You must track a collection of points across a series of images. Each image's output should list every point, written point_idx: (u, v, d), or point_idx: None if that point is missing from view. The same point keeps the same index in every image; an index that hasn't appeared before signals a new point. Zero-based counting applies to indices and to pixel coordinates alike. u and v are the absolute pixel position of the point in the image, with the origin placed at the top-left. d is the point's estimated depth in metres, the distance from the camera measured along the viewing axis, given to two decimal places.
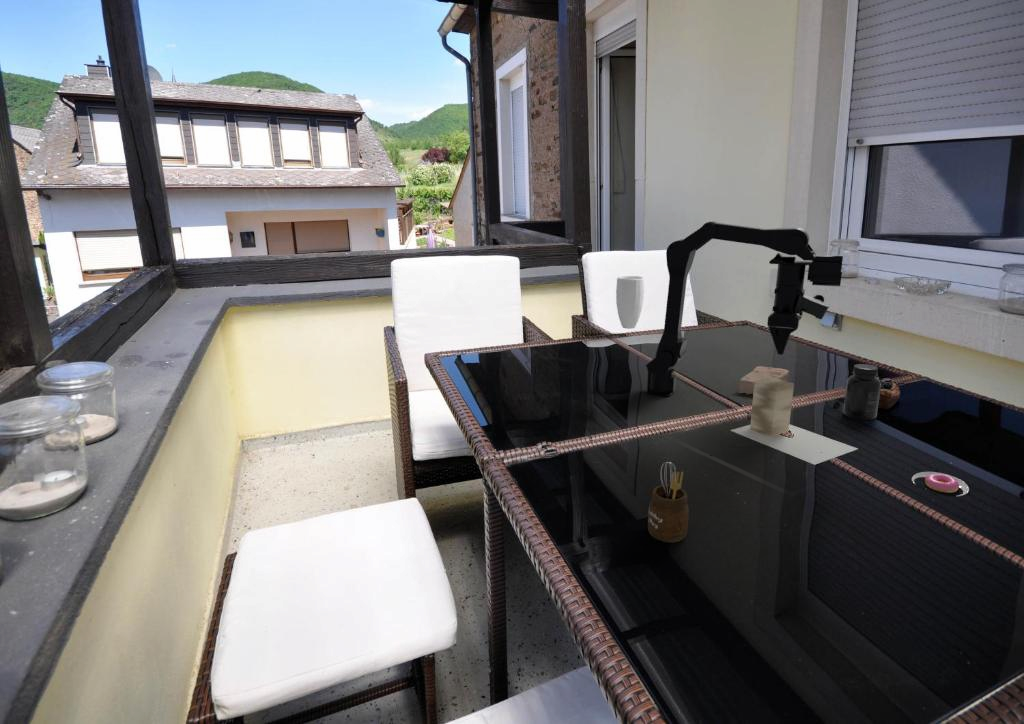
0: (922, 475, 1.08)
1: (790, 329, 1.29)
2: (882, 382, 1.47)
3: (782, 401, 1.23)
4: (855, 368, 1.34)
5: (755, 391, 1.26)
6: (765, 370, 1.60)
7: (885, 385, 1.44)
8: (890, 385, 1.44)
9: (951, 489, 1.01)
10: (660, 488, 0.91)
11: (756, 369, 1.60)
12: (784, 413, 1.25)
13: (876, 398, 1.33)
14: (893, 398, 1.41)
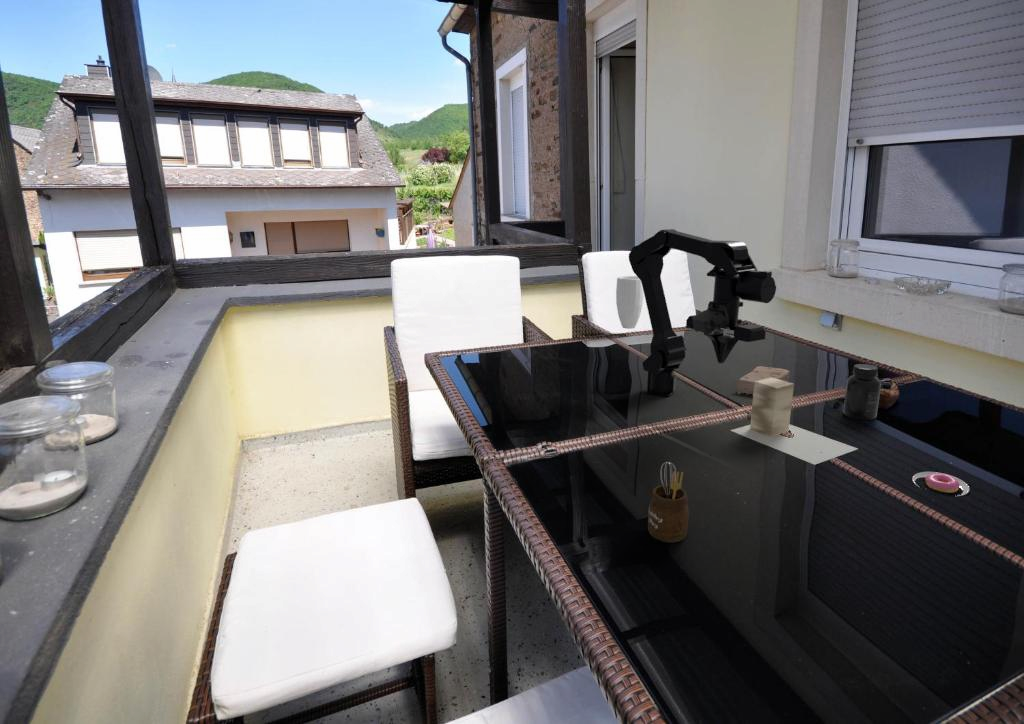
0: (923, 475, 1.08)
1: None
2: (881, 382, 1.47)
3: (782, 401, 1.23)
4: (855, 368, 1.34)
5: (755, 391, 1.26)
6: (765, 370, 1.60)
7: (884, 385, 1.45)
8: (889, 385, 1.44)
9: (951, 489, 1.01)
10: (660, 488, 0.91)
11: (756, 369, 1.60)
12: (784, 413, 1.25)
13: (876, 398, 1.33)
14: (892, 398, 1.42)
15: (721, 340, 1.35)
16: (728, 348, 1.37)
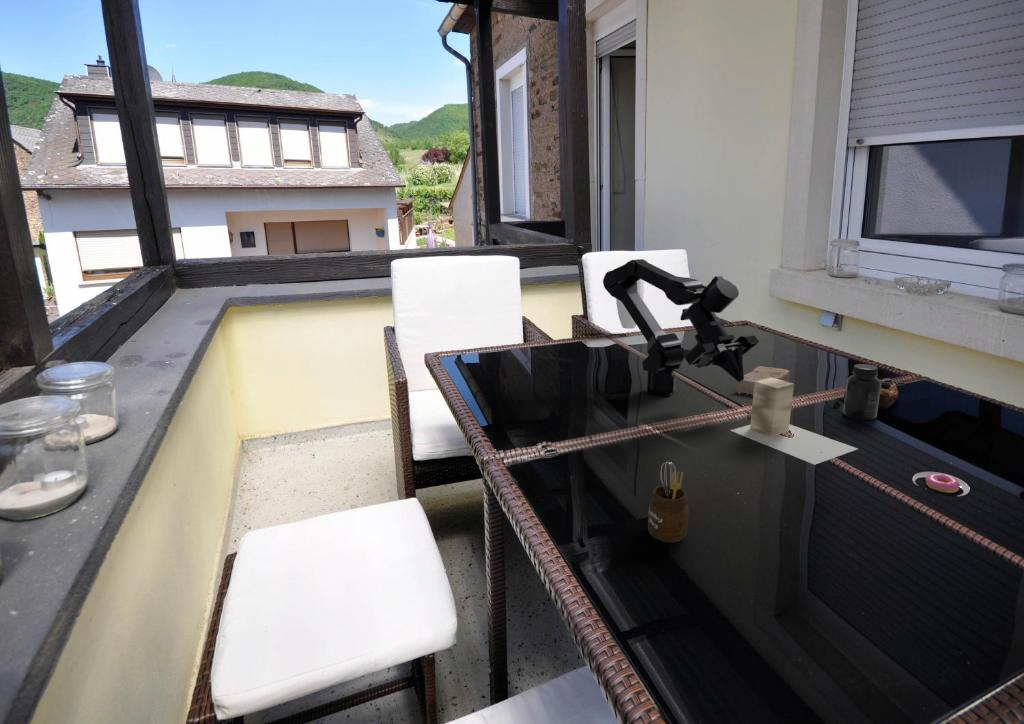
0: (923, 475, 1.08)
1: None
2: None
3: (782, 401, 1.23)
4: (855, 368, 1.34)
5: (755, 391, 1.26)
6: (765, 370, 1.60)
7: (883, 385, 1.45)
8: (888, 385, 1.44)
9: (952, 489, 1.01)
10: (660, 488, 0.91)
11: (756, 369, 1.60)
12: (784, 413, 1.25)
13: (876, 398, 1.33)
14: (891, 398, 1.42)
15: None
16: (730, 366, 1.33)
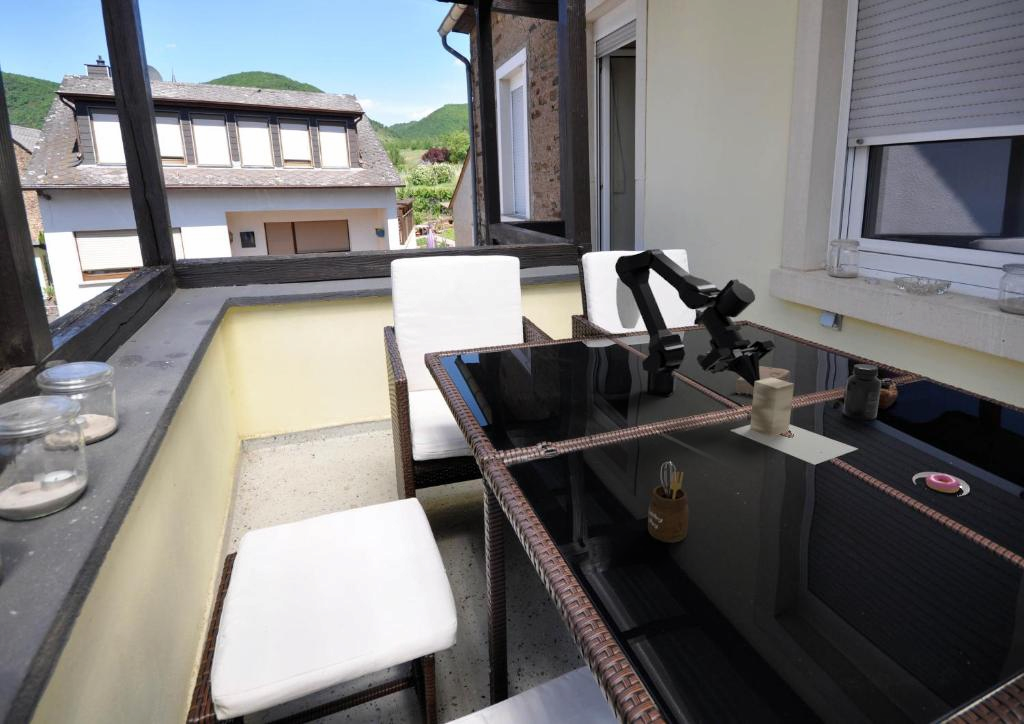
0: (923, 475, 1.08)
1: None
2: None
3: (782, 401, 1.23)
4: (855, 368, 1.34)
5: (755, 391, 1.26)
6: (765, 370, 1.60)
7: (883, 385, 1.45)
8: (888, 385, 1.44)
9: (952, 489, 1.01)
10: (660, 488, 0.91)
11: None
12: (784, 413, 1.25)
13: (876, 398, 1.33)
14: (891, 398, 1.42)
15: None
16: (746, 372, 1.29)
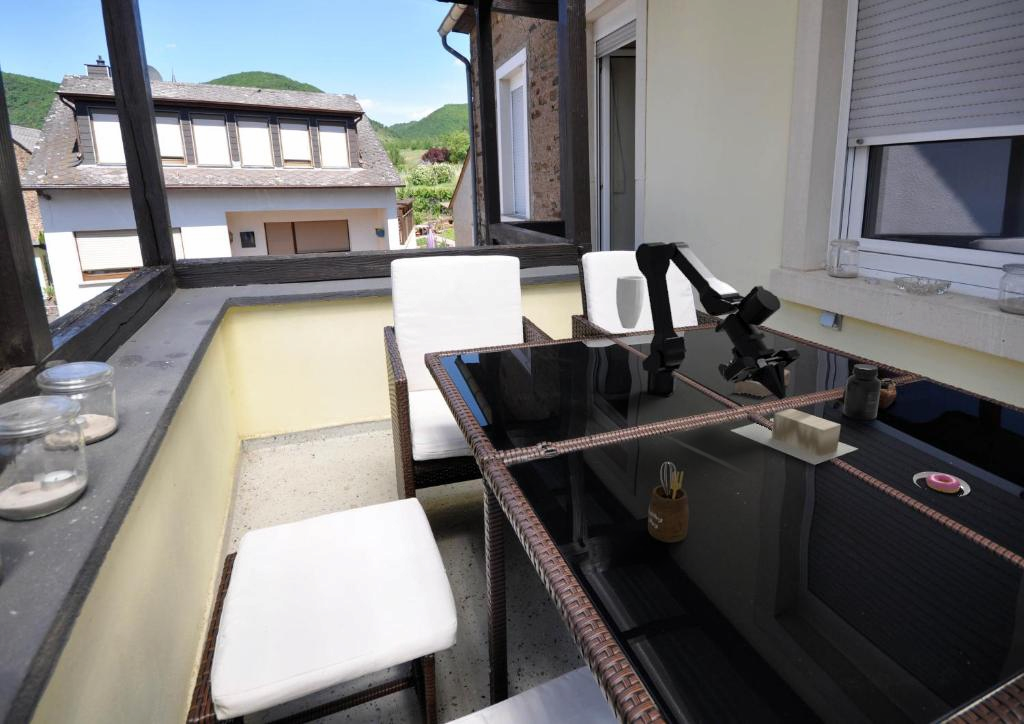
0: (923, 475, 1.08)
1: None
2: None
3: None
4: (855, 368, 1.34)
5: (812, 428, 1.15)
6: None
7: (882, 385, 1.45)
8: (887, 385, 1.44)
9: (952, 489, 1.01)
10: (660, 488, 0.91)
11: None
12: None
13: (876, 398, 1.33)
14: (890, 398, 1.42)
15: None
16: (770, 383, 1.24)
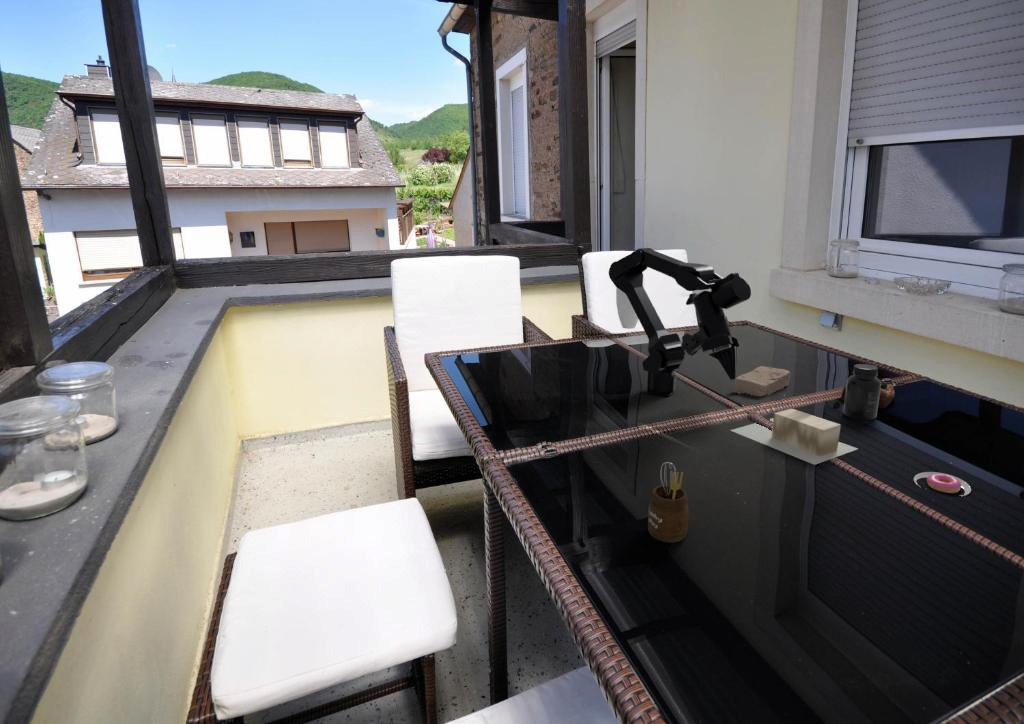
0: (924, 475, 1.07)
1: None
2: None
3: None
4: (855, 368, 1.34)
5: (812, 428, 1.15)
6: (766, 370, 1.59)
7: None
8: (885, 384, 1.44)
9: (953, 489, 1.01)
10: (660, 488, 0.91)
11: (756, 369, 1.61)
12: None
13: (876, 398, 1.33)
14: (888, 397, 1.42)
15: None
16: (729, 363, 1.34)
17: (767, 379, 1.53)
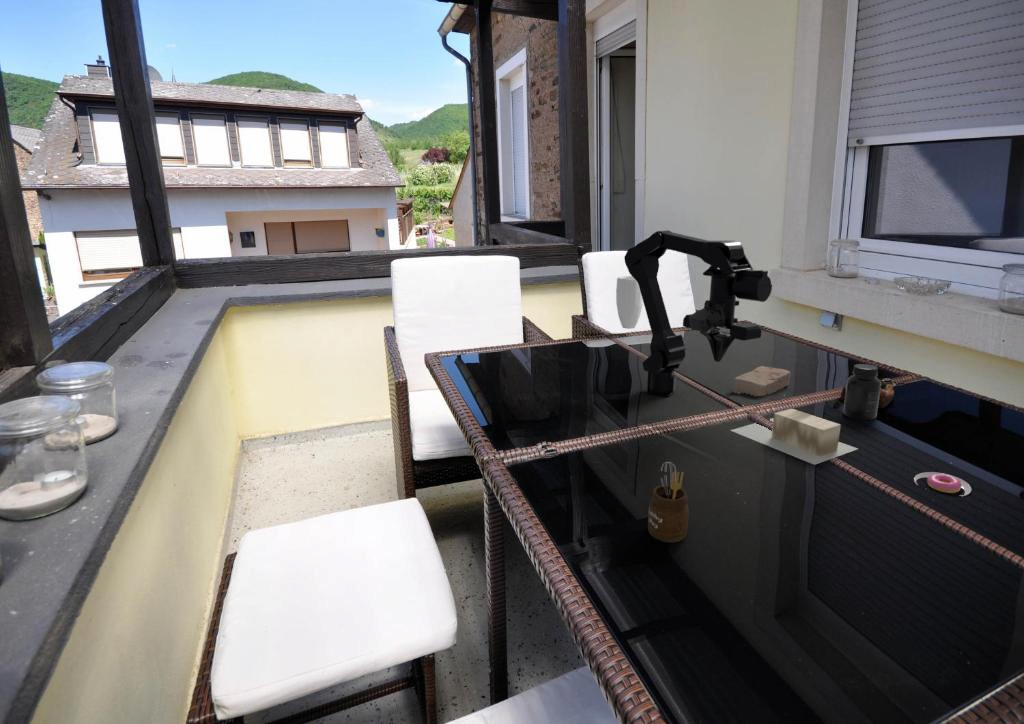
0: (924, 475, 1.07)
1: None
2: None
3: None
4: (855, 368, 1.34)
5: (812, 428, 1.15)
6: (766, 370, 1.59)
7: None
8: (884, 384, 1.44)
9: (953, 489, 1.01)
10: (660, 488, 0.91)
11: (756, 369, 1.61)
12: None
13: (876, 398, 1.33)
14: (888, 397, 1.42)
15: (717, 339, 1.36)
16: (724, 347, 1.38)
17: (766, 379, 1.53)
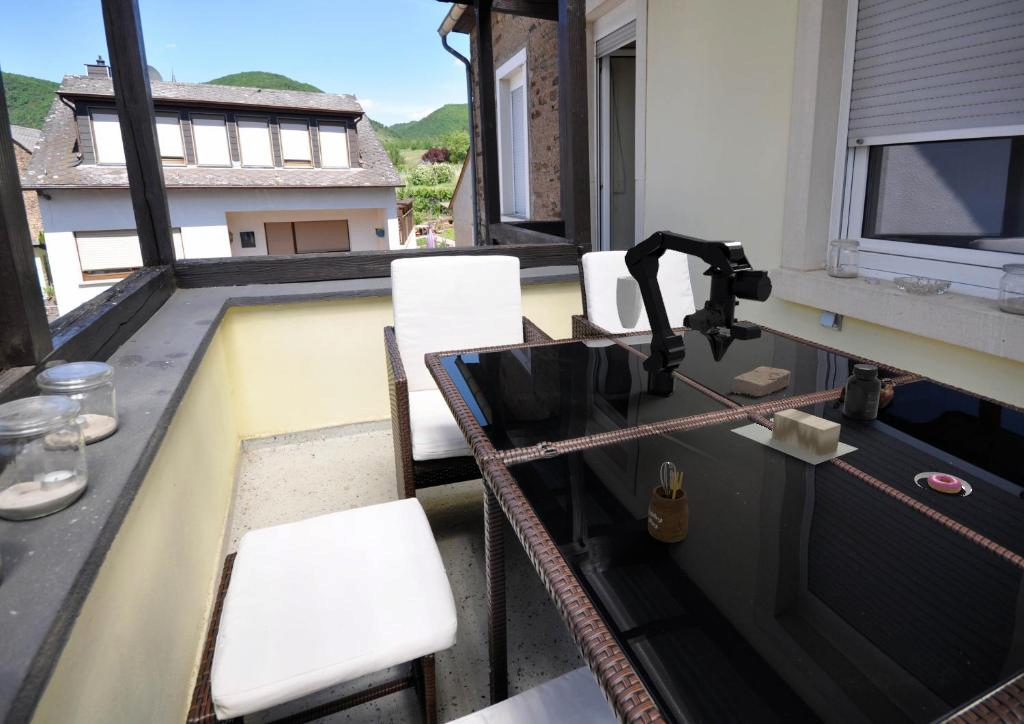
0: (925, 475, 1.07)
1: None
2: None
3: None
4: (855, 368, 1.34)
5: (812, 428, 1.15)
6: (766, 370, 1.59)
7: None
8: (884, 384, 1.44)
9: (954, 489, 1.01)
10: (660, 488, 0.91)
11: (756, 369, 1.61)
12: None
13: (876, 398, 1.33)
14: (887, 397, 1.42)
15: (717, 339, 1.36)
16: (724, 347, 1.38)
17: (766, 379, 1.53)
